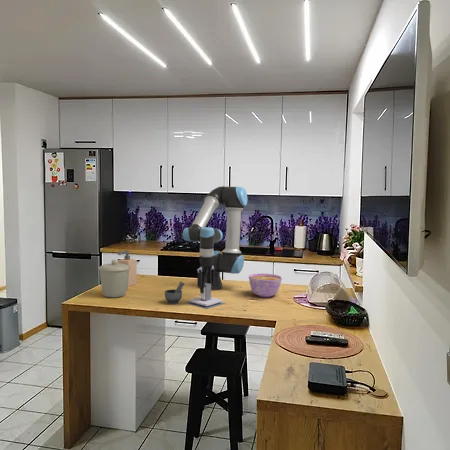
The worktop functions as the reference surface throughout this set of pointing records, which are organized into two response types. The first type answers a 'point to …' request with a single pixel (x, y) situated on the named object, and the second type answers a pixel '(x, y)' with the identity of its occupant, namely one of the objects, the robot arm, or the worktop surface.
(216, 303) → the mat
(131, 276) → the soap dispenser
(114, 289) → the canister
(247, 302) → the worktop surface
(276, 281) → the bowl of food
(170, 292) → the mortar and pestle
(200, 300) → the cover board
